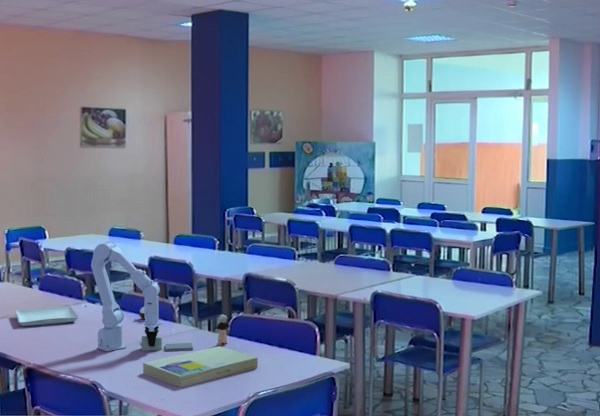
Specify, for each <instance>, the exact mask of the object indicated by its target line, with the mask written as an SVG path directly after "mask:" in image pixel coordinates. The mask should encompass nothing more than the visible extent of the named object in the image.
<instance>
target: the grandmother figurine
mask: <svg viewBox="0 0 600 416" xmlns="http://www.w3.org/2000/svg"><path fill="white" fill-rule="evenodd" d="M227 319H228V317H227V315H225V314H220V315H219V317H218V320H219V323H218V325H217V326H216V328H215V330H214V333H215V334H217V333H218V335H217V336H218V337H217V338H218V339H217V346H222V343H223V345H227V344H228V341H227V340H228V338H227V330H228V331H231V327H230V325H229V323H227ZM226 343H227V344H226Z"/></svg>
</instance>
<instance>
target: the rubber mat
mask: <svg viewBox="0 0 600 416" xmlns="http://www.w3.org/2000/svg"><path fill="white" fill-rule="evenodd" d="M164 346H165V347H164V348H165V352H178V351H193V350H194V347H193V346H194V345H193V342H182V343H181V342H179V343H176V342H175V343H165V345H164Z"/></svg>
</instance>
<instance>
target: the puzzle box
mask: <svg viewBox="0 0 600 416" xmlns="http://www.w3.org/2000/svg"><path fill="white" fill-rule="evenodd" d="M142 365H143V366H142V371H143V374H144V375H147V376H149V377H151V378H152V377H153V378H154V379H157V380H160V381H161V382H162V381H163V382H165V383H168V384H170V385H173V386H175V387H178V388H184V387H187V386H191V385H195V384H199V383H204V382H207V381H211V380H215V379H219V378H222V377H227V376H230V375H235V374H238V373H243V372H247V371H249V370H253V369H258V367H259V366H258V357H257V356H255V355H251V354H247V353H243V352H240V351H237V350H234V349H229V348H226V347H222V346H221V345H218V346H215V347H209V348H206V349H201V350H200V349H199V350H197V351H191V352H187V353H183V354H178V355H173V356H168V357H163V358H159V359H155V360H151V361H146V362H143V363H142Z"/></svg>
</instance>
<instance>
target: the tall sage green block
mask: <svg viewBox="0 0 600 416" xmlns="http://www.w3.org/2000/svg"><path fill="white" fill-rule="evenodd" d="M162 343H163V341H162V334H161V335H160V334H159V335H157V336H156V340H155V346H153V347H149V344H148V338H147V335H141V351H160V350H162V349H163V347H162V346H163V345H162Z"/></svg>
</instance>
